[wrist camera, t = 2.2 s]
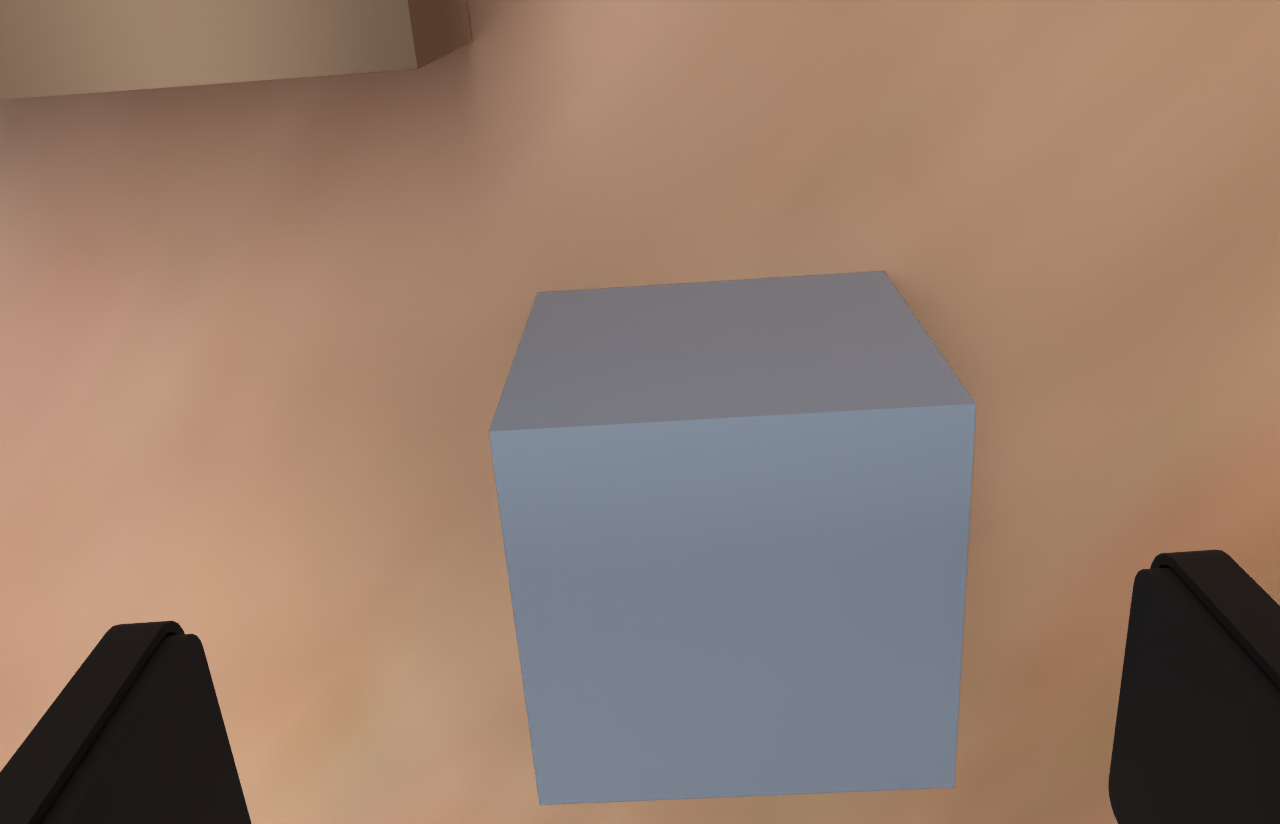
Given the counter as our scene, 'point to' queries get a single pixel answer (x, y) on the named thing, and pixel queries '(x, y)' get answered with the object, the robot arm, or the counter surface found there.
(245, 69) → the walnut block
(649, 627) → the slate cube
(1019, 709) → the counter surface
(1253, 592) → the robot arm
